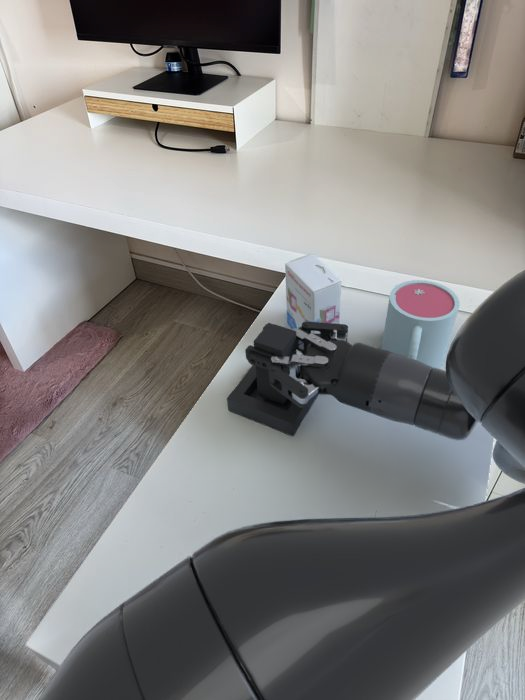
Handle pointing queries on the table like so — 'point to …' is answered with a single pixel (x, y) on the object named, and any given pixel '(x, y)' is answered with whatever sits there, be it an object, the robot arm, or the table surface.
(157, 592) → the robot arm
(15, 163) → the table surface
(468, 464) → the table surface
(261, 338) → the block
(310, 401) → the base pad
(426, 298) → the mug
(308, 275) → the ink box
